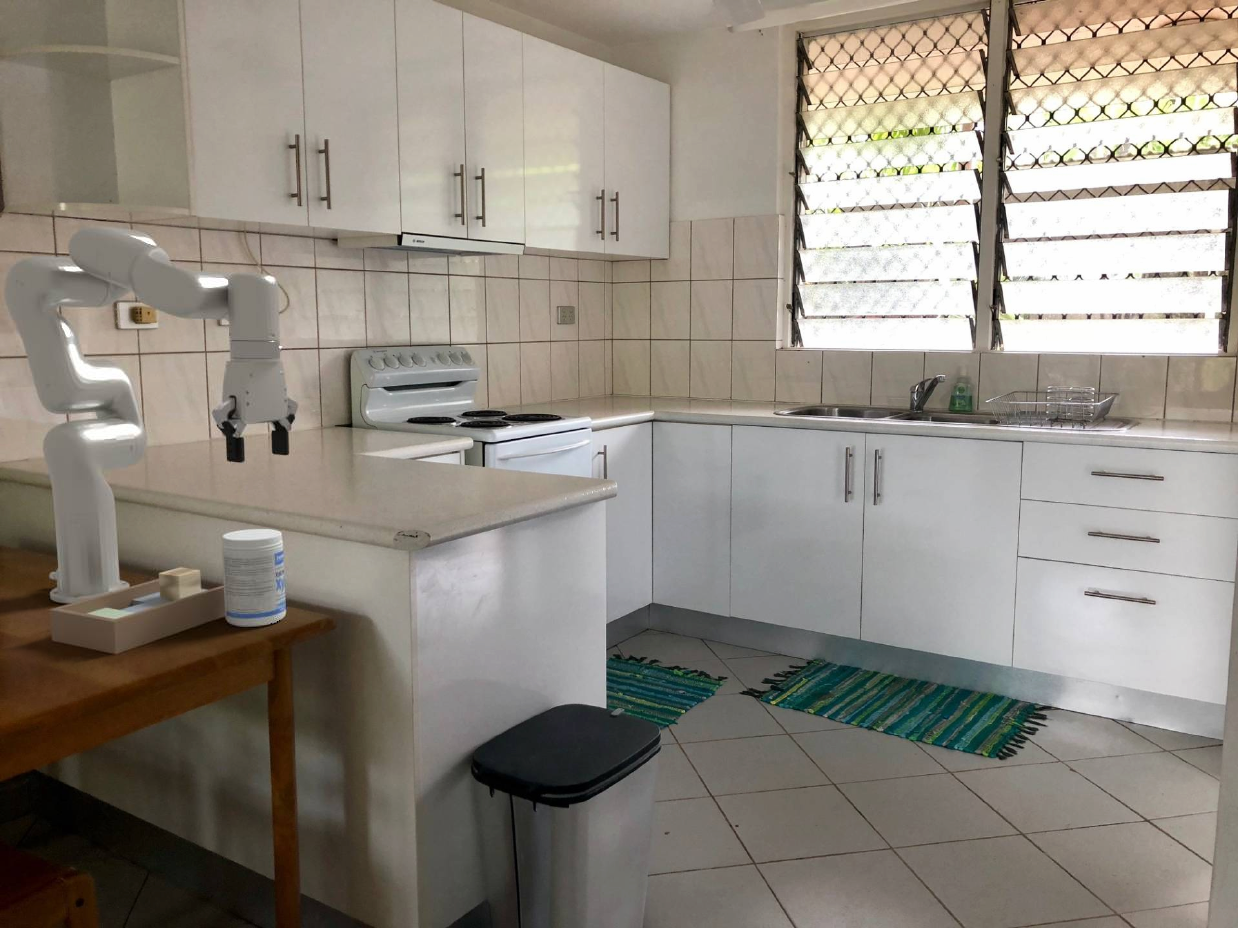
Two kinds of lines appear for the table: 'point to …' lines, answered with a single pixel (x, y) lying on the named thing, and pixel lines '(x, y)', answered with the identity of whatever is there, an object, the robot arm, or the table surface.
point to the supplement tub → (253, 577)
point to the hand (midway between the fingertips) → (258, 458)
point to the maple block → (179, 583)
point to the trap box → (132, 617)
